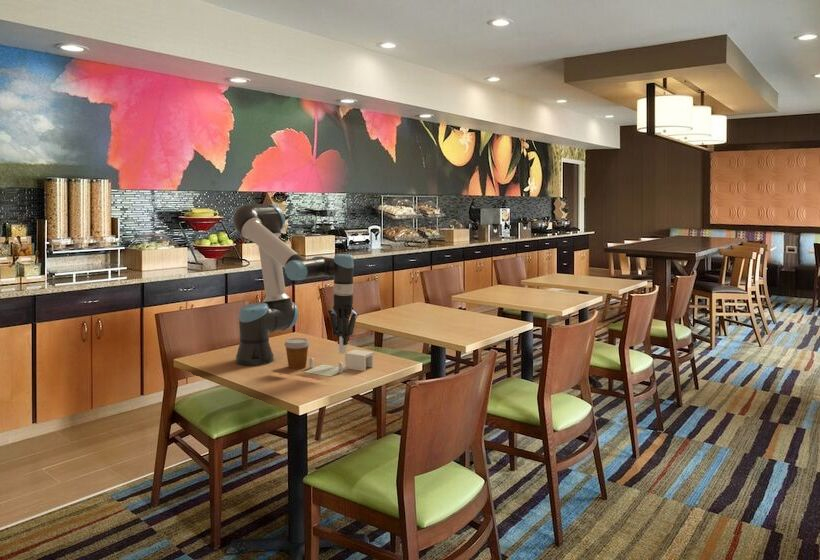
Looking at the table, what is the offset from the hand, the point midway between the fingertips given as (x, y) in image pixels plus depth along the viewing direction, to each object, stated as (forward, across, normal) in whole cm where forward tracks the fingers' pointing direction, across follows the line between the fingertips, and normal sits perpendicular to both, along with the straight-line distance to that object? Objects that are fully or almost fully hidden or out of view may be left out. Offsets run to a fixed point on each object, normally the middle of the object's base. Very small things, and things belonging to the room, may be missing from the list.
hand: (342, 352), depth 249 cm
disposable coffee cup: (+7, -14, -11) cm, 19 cm away
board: (+6, +2, -6) cm, 9 cm away
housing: (+5, +8, 0) cm, 10 cm away
